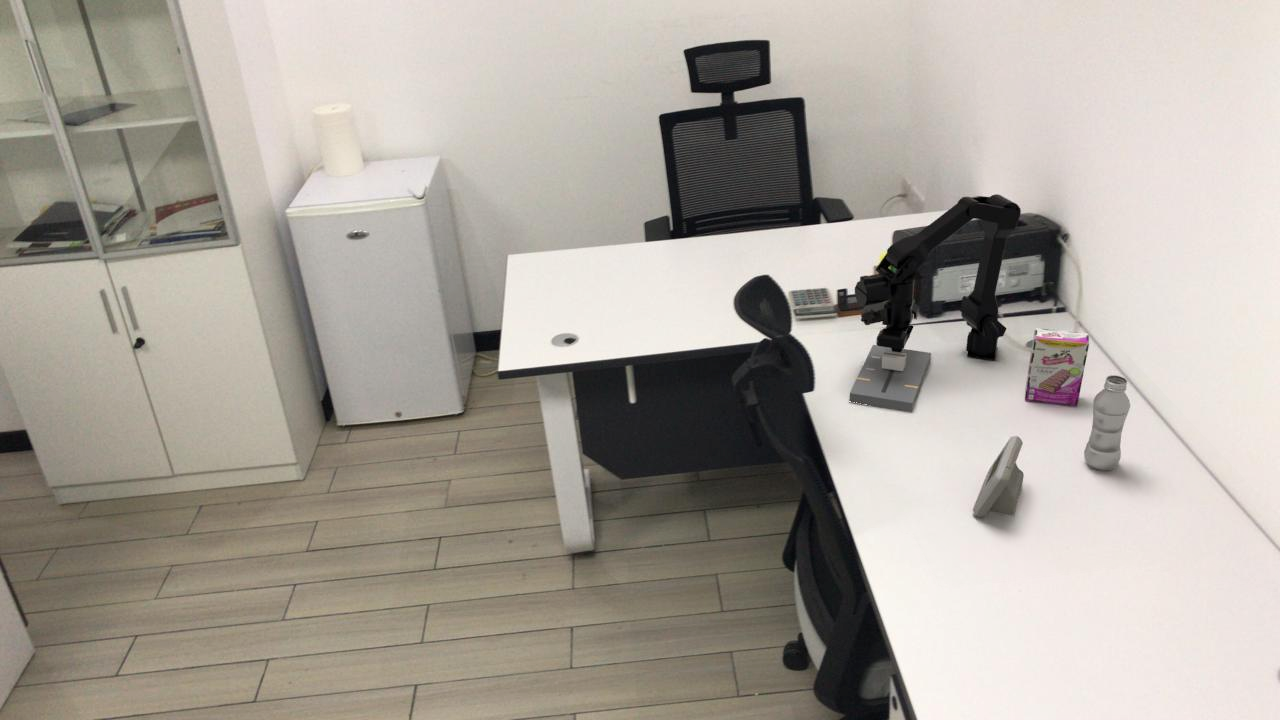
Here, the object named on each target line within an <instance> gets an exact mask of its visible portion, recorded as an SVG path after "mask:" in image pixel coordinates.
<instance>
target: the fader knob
mask: <svg viewBox="0 0 1280 720" xmlns="http://www.w3.org/2000/svg"><path fill="white" fill-rule="evenodd" d="M905 365H906V353H900V352H893V351H886V350H885V351H884V353H883V356H882V368H884V369H891V370H898V371H903V370H904V368H905Z"/></svg>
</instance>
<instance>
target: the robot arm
mask: <svg viewBox="0 0 1280 720" xmlns="http://www.w3.org/2000/svg"><path fill="white" fill-rule="evenodd" d="M1021 215H1022V210H1021V207H1020V206H1019V205H1018V204H1017V203H1016V202H1013V201H1012V200H1010V199H1008V198H1006V197H1005V196H1003V195H1001V194H999V193H998V194H996V193H995V194H993V195H990V196H984V195H983V196H982V195H977V196H972V197H971V196H962V197H961V198H960V199H958V201H957V203H956V204H954V205H953V206H952V207H950V209H948V210H947V211H945V212H944V213H943V214H942V215H940V216H939V217H938V218H937V219H935V220H934V221H932V222H931V223H930V224H929V225H927V226H926V227H925V228H923V229H922V230H921V231H919V232H918V233H915V234H914V235H911V236H910V235H909V236H907V237H903V238H902V239H900V240H897V241H896V242H894V243H893V244H891V245H890V246H888V248H887V249H886V254H885V255H884V256H883V258H882V259H881V261H880V262H879V263H878V265H877V266H876V268H875V272H876V273H877V274H876V273H875V274H872V275H870V274H869V275H861V276H860V277H859V281H857V282H856V284H855V287H854V296H855V299H856V302H857V304H858V305H859V306H860V307H862V310H861V312H860V316H861V319H860V321H861V322H862V323H863V324H864V325H865V326H870V325H873V324H876V323H877V324H878V323H881V322H882V323H881V325H883V326H885V327H883V328H882V329H881V330H879V333H878V334H877V336H876V344H875V345H878V346H881V347H888V348H891V349H892V351H893V352H900V353H901V351H902V349H905V346H906V344H907V342H908V340H909V338H910V335H911V334H912V332H913V329H914V325H912V324H911V323H912V322H913V320H917V319H918V317H919V315H920V307H919V306H918V305H917V304H916V303H915V300H916V299H915V298H914V292H915V290H914V289H915V288H914V287H915V281H917V280H922V279H924V278H925V276H924V275H923V274H922V273H921V272H919V269H920V268H921V267H922V266H923V265H924V264H925V263H926V261H927V259H928V257H929V255H930V253H932V251H933V250H934V249H936V248H937V247H938V246H940V245H941V244H942V243H943V242H945V241H947V240H948V239H949V238H950V237H951V236H953V235H954V234H955V233H957V232H958V231H959V230H960V229H962V228H964V226H966V225H967V224H968V223H970V222H972V220H981V223H982V228H983V232H984V237H983V242H982V247H981V252H980V257H979V262H978V268H977V271H976V277H975V282H974V287H973V291H971V292H970V293H969V295H966V296H965V295H964V296H962V299H961V307H960V308H959V309H958V310H959V312H961V314H960V315H961V317H962V319H963V320H964V321H965V322H966V325H967V326H968V327H970V328H971V329H970V331H969V332H968V334H967V338H966V339H967V340H966V345H965V346H966V348H965V351H966V352H967V354H966V357H967V358H975V359H980V360H981V359H982V360H990V361H995V360H996V357H997V354H998V351H999V350H998V349H999V347H998V342H999V338H1002V337H1003V336H1004V335H1005V333H1006V331H1007V327H1006V326H1004V324H1002V323H1001V322H1000V321H999V320H998V319H999V306H998V301H997V298H996V297H997V296H996V291H997V287H998V282H999V277H1000V273H1001V272H1000V271H1001V268H1002V265H1003V264H1002V263H1003V259H1004V254H1005V249H1006V244H1007V239H1008V238H1009V237H1010V235H1011V234H1013V232H1014V231H1015V230H1016V228H1017V226H1018V223H1019V220H1020V218H1021ZM890 267H892V268H893V269H894V270H896V272H894V271H893V270H891V269H890Z"/></svg>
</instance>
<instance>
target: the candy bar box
mask: <svg viewBox="0 0 1280 720" xmlns="http://www.w3.org/2000/svg"><path fill="white" fill-rule="evenodd" d="M1033 332H1034V333H1033V338H1032V344H1031V350H1030V351H1031V352H1030V358H1029V364H1028V369H1027V375H1026V381H1025V382H1026V383H1025V389H1024V392H1025V393H1024V401H1026V402H1033V401H1034V403H1041V404H1042V403H1043V404H1044V403H1045V404H1053V405H1059V404H1060V405H1061V406H1069V407H1070V406H1071V407H1078V403H1079V398H1080V394H1081V388H1082V383H1083V378H1084V372H1085V368H1086V363H1087V357H1088V351H1089V346H1090V337H1089V333H1087V332H1079V331H1078V332H1077V331H1066V330H1057V329H1056V330H1055V329H1049V328H1048V329H1047V328H1046V329H1045V328H1037V327H1036V328H1034V331H1033Z"/></svg>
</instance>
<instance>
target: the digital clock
mask: <svg viewBox="0 0 1280 720" xmlns="http://www.w3.org/2000/svg"><path fill="white" fill-rule="evenodd" d="M1023 445H1024V444H1023V441H1022V439H1021V437H1020V436H1018V435H1015V436H1014V435H1012V436H1010V437H1009V439H1008V440H1007V442H1006V444H1005V445H1004V447H1003V448H1002V449H1001V451H1000V453H999V454H998V456H997V457H996V458H995V460H994V461H993V463H992V465H991V466H990V468H989V469H988V471H987V474H986V476H985V479H984V481H983V483H982V485H981V488H980V490H979V493H978V495H977V498H976V500H975V503H974V504H973V507H972V508H973V509H972V511H973V512H972V513H973V514H974V516H975V517H977V518H982V517H985V516H986V515H988V513H989V512H993V513H996V514H1000V515H1005V516H1010V517H1012V516H1013V515H1014V512H1015V510H1016V507H1017V504H1018V502H1019V498H1020V495H1021V493H1022V489H1023V484H1024V483H1023V482H1024V478H1025V477H1024V471H1022V470H1021V469H1020V468H1019V467H1018V465H1017V463H1016V462H1017V460H1018V458H1019V454H1020V452H1021V450H1022V446H1023Z"/></svg>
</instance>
